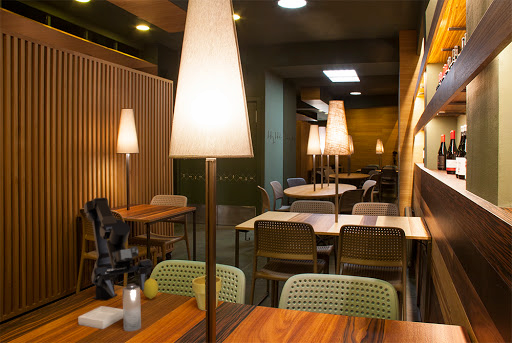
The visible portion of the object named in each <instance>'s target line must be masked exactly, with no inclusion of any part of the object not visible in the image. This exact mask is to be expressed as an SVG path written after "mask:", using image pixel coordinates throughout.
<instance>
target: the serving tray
mask: <svg viewBox="0 0 512 343" xmlns="http://www.w3.org/2000/svg"><path fill="white" fill-rule="evenodd" d="M77 318H78V319H77V320H78V321H77V322H78V325H79V326H84V327H90V328H93V329H99V330H104V329H106V328H107V327H110V326H111V325H113V324H115V323H117V322H118V321H121V320H122V319H123V308H118V307H117V308H116V307H111V306H103V305H101V306H98V307H96V308H94V309H92V310H90V311H88V312H85V313H84V314H81V315H79V316H78V317H77Z"/></svg>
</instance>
